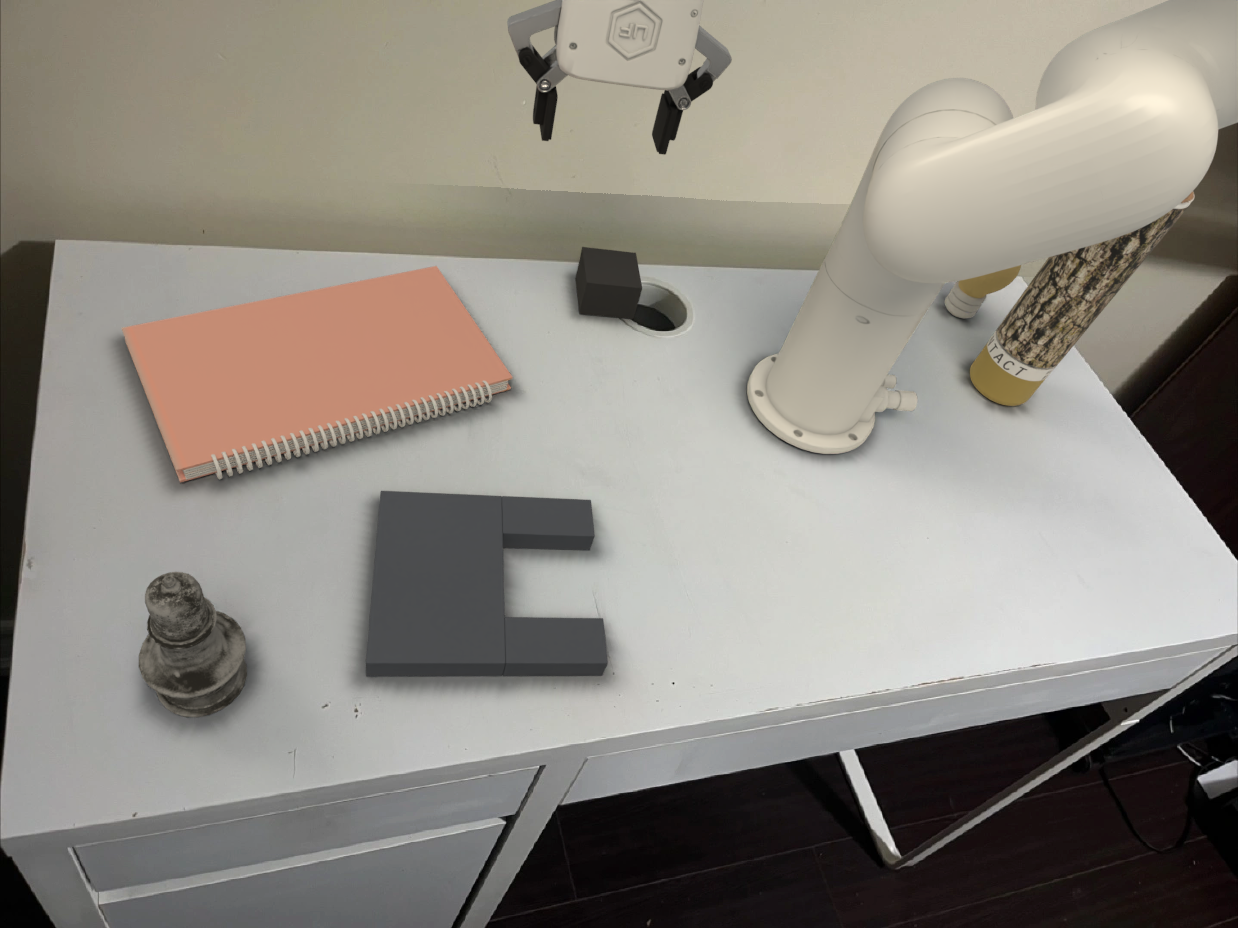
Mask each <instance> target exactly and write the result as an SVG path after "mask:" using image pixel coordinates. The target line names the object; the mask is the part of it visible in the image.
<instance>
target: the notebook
mask: <svg viewBox="0 0 1238 928" xmlns="http://www.w3.org/2000/svg"><path fill="white" fill-rule="evenodd" d="M120 328H121V332H122V334H123V337H124V342H125V344H126V347H127V349H128V352H129V354H130V358H131V360H132V362H133V365H134V367H135V370H136V372H137V375H138V378H139V380H140V383H141V386H142V388H143V390H144V393H145V396H146V398H147V401H148V404H149V406H150V409H151V411H152V413H153V416H154V418H155V422H156V424H157V427H158V429H159V432H160V434H161V437H162V440H163V442H164V444H165V447H166V450H167V452H168V455H169V457H170V460H171V463H172V465H173V468H174V471H175V473H176V475H177V478H178V481H179V483H184V482H189V481H191V480H194V479H198V478H201V477H205V476H209V475H212V474H215V475H216V478H217V479H218V480H222V479H223V473H222V471H226V474H227V475H228V477H233V475H234V474H233V473H234V472H233V468H236V470H237V473H238V474H239V475H240V474H243V473H244V468H243V465H245V466H246V469H247V470H248V471H249V472H250V471H253V470H254V466H253V463H254V462H255V464H256V467H257V468H258V469H261V468H263V466H264V465H263V460H265V463H266V464H267V465H268V466H271V465H272V464H273V457H274V460H275V461H276V462H277V463H281V462H282V461H283V460H282V455H283V456H284V458H285V459H286V460H287V461H289V460H291V459H292V453H291V452H293V455H294V456H295V457H296V458H300V457H301V449H302V452H303V453H304V454H305V455H309V454H310V453H311V452H310V447H311V449H312V451H313V452H314V453H317V452H318V451H320V447H321V449H323V450H327V449H328V448H329V444H330V446H331V447H332V448H334V447H336V446H337V445H338V442H339V444H341V445H345V444H346V442H347V440H348V441H349V443H352V442H354V441H355V439H356V438H357V439H358V440H361V439H362V440H363V438H364V435H365V436H366V437H367V438H369V437H371V436H372V435H373V434H375V435H380V433H381V431H382V432H384V433H386V432H388V431H389V430H390V429H391V430H392V431H394V430H397V428H398V426H399V427H400V428H404V427H405V426H406V424H407V425H408V426H410V425H411V426H412V425H413V424H414V422H416V423H421V422H422V420H424V421H428V420H430V418H433V419H436V418H437V417H438V415H439V416H441V417H444V416H445V415H446V413H448V414H452V413H453V412H454V411H455V412H460V411H461V410H462V409H464V410H467V409H468V408H469V406H470V407H471V408H474V407H476V406H477V404H478V405H480V406H482V405H483V404H484V403H491V401H492V399H493V395H496V394H499V393H502V392H506V391H509V390H511V389H512V387H511V385H510V384H509V381H510V380H513V379H514V378H513V375H512V374H511V373H510V371H509V370H508V368H507V366H506V365H505V364H504V362H503V360H502V359H501V358H500V357H499V355H498V354H497V352H496V350H495V349H494V348H493V347H492V344H491V343H490V341H488V339H487V337H486V336H485V335H484V333H483V332H482V330H481V329H480V327H479V325H478V324H477V323H476V322H475V320H474V318H473V317H472V316H471V314H470V313H469V311H468V309H466V306H465V305H464V304H463V303H462V300H460V298H459V296H458V295H457V294H456V292H455V290H454V289H453V288H452V286H451V285H450V284H449V282H448V280H447V279H446V277H445V276H444V275H443V273H442V272H441V270H440V269H439V267H438V266H437V265H433V266H429V267H427V266H426V267H423V268H418V269H412V270H407V271H402V272H398V273H393V274H386V275H383V276H377V277H372V278H366V279H361V280H356V281H352V282H347V283H340V284H336V285H331V286H326V287H321V288H316V289H311V290H305V291H301V292H296V293H291V294H286V295H280V296H275V297H269V298H264V299H259V300H254V301H250V302H244V303H239V304H235V305H229V306H224V307H218V308H214V309H208V310H203V311H198V312H194V313H188V314H183V315H179V316H173V317H168V318H162V319H158V320H152V321H148V322H143V323H137V324H132V325H127V326H123V327H122V326H121V327H120ZM487 397H488V399H487ZM479 399H480V400H479ZM472 401H473V403H472ZM464 403H465V405H464ZM456 405H458V407H457V406H456ZM449 408H450V409H449ZM441 410H442V411H441ZM425 414H426V415H425ZM417 416H418V417H417ZM409 419H410V420H409ZM401 421H402V422H401ZM355 436H356V438H355ZM346 438H347V439H346ZM337 440H338V441H337ZM328 443H329V444H328ZM319 444H320V447H319Z"/></svg>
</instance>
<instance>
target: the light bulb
mask: <svg viewBox="0 0 1238 928" xmlns="http://www.w3.org/2000/svg"><path fill="white" fill-rule="evenodd" d="M1021 268H1022V265H1019V266H1016V267H1012V268H1008V269H1005V270H1001V271H997V272H994V273H990V274H986V275H983V276H979V277H975V278H970V279H966V280H961V281H955V282H954V284H953V287H952V288H951V289H950V291H949V293H948V294H947V296H946V297H945V299H944V305H945V307H946V310H947V311H948V312H949V313H950V314H951V315H952V316H954V317H956V318H959V319H971V318H973V317H974V316H976V314H977V312H978V310H979V309H981V307H982V306H983V304H984V303H985V301H986V299H987V295H991V294H993V293H997V292H999V291H1001V290H1003V289H1005V288H1006V287H1009V285H1010V284H1011V283H1013V282H1014V280H1015V279H1016V278H1018V277H1017V276H1018V275H1019V273H1020V271H1021Z"/></svg>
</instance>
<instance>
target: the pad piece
mask: <svg viewBox="0 0 1238 928" xmlns="http://www.w3.org/2000/svg"><path fill="white" fill-rule="evenodd" d="M575 286H576V296H577V306H578V313H579V315H583V316H584V315H585V316H593V317H594V316H595V317H607V318H616V319H624V320H625V319H627V320H634V318H635V316H636V311H637V310H638V309H637V308H638V306H639V301H640V298H641V295H642V291H643V284H642V279H641V273H640V267H639V262H638V255H637V252H633V251H624V250H614V249H606V248H597V247H587V246H582V247H581V250H580V256H579V260H578V265H577V269H576V274H575Z"/></svg>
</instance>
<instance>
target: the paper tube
mask: <svg viewBox="0 0 1238 928" xmlns="http://www.w3.org/2000/svg"><path fill="white" fill-rule="evenodd" d="M1195 197H1196V196H1195V192H1194V190H1193V191H1192V192H1191V194H1190V195H1189V196H1188V197H1187V198H1185V199H1184V200H1183V201H1182V202H1181V203H1180V204H1179V205H1177V206H1176V207H1175V208H1173V209H1172V210H1171V211H1169V212H1168V213H1166V214H1165V215H1163V216H1162V217H1160V218H1159V219H1157V220H1155V221H1153V222H1152V223H1150V224H1148V225H1146V226H1144V227H1142V228H1140V229H1138V230H1136V231H1133V232H1131V233H1128V234H1125V235H1123V236H1120V237H1117V238H1114V239H1111V240H1107V241H1104V242H1101V243H1098V244H1094V245H1091V246H1087V247H1084V248H1080V249H1077V250H1073V251H1069V252H1066V253H1062V254H1059V255H1055V256H1052V257H1048V258H1046V260H1045V262H1044V263H1043V264H1042V266H1041V267H1040V269H1039V270H1038V272H1037V273H1036V274H1035V275H1034V277H1033V279H1032V280H1031V281H1030V283H1029V284H1028V285H1027V287H1026V288H1025V289H1024V291H1023V292H1022V293H1021V295H1020V296H1019V298H1018V299H1017V300H1016V302H1015V303H1014V305H1013V306H1012V308H1011V309H1010V310H1009V312H1008V313H1007V314H1006V316H1005V317H1004V319H1003V320H1002V322H1001V323H1000V324H999V325H998V327H997V329H996V330H995V331H994V332H993V334H992V335H991V336H990V338H989V340H988V341H987V342H986V344H985V345H984V347H983V348H982V349H981V351H980V352H979V353H978V355H977V356H976V358H975V359H974V361H972V363H971V366H969V367H970V368H969V377H970V381H971V383H972V385H973V386H974V387H975V389H976V390H977V392H979V393H980V394H981V395H983V396H984V397H985V398H986V399H988V400H990V401H992V402H993V403H996V404H999V405H1003V406H1006V407H1007V406H1008V407H1017V406H1020V405H1023V404H1026V403H1027V402H1028V401H1029V400H1030V399H1031V397H1032V396H1033V395H1034V394H1035V393H1036V391H1038V389H1039V388H1040V387H1041V385H1042V384H1043V383H1044V382H1045V381H1046V379H1047V378H1048V377H1049V376H1050V375H1051V374H1052V373H1053V372H1054V370H1055V369H1056V367H1058V365H1059V364H1060V363H1061V362H1062V361H1063V359H1064V358H1065V357H1066V356H1067V354H1068V353H1069V352H1070V351H1071V350H1072V348H1073V347H1074V346H1075V345H1076V343H1077V342H1079V340H1080V338H1081V337H1082V336H1083V335H1084V334H1085V333H1086V332H1087V330H1089V328H1090V327H1091V325H1092V324H1093V323H1094V322H1095V320H1096V319H1097V318H1098V317H1099V316H1100V314H1102V312H1103V311H1104V310H1105V308H1106V307H1107V306H1108V305H1109V304H1110V302H1111V301H1112V300H1113V299H1114V297H1115V296H1116V295H1117V294H1118V292H1119V291H1120V290H1121V289H1122V288H1123V287H1124V286H1125V284H1126V283H1127V282H1128V281H1129V279H1130V278H1131V277H1132V276H1133V274H1134V273H1135V272H1136V271H1137V270H1138V269H1139V267H1140V266H1141V265H1142V264H1143V263H1144V261H1145V260H1146V259H1147V258H1148V256H1149V255H1150V254H1151V253H1152V252H1153V250H1154V249H1155V248H1156V247H1157V245H1158V244H1159V243H1160V242H1161V241H1162V240H1163V238H1164V237H1165V236H1166V235H1167V233H1168V232H1169V231H1170V230H1171V229H1172V228H1173V226H1174V225H1175V224H1176V222H1178V220H1179V219H1180V217H1181V216H1182V215H1183V214H1184V213H1185V212H1186V211H1187V209H1188V208H1189V207H1190V205H1191V204H1192V202H1193V201H1194V200H1195Z"/></svg>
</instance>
